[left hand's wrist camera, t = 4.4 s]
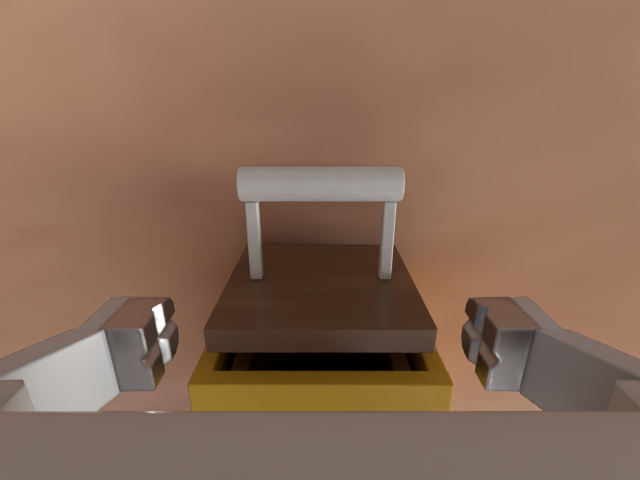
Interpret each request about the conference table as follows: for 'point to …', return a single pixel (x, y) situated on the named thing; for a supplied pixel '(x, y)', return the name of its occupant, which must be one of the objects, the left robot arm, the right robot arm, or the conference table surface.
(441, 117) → the conference table surface
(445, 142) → the conference table surface
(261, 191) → the drawer
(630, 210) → the conference table surface
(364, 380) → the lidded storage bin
